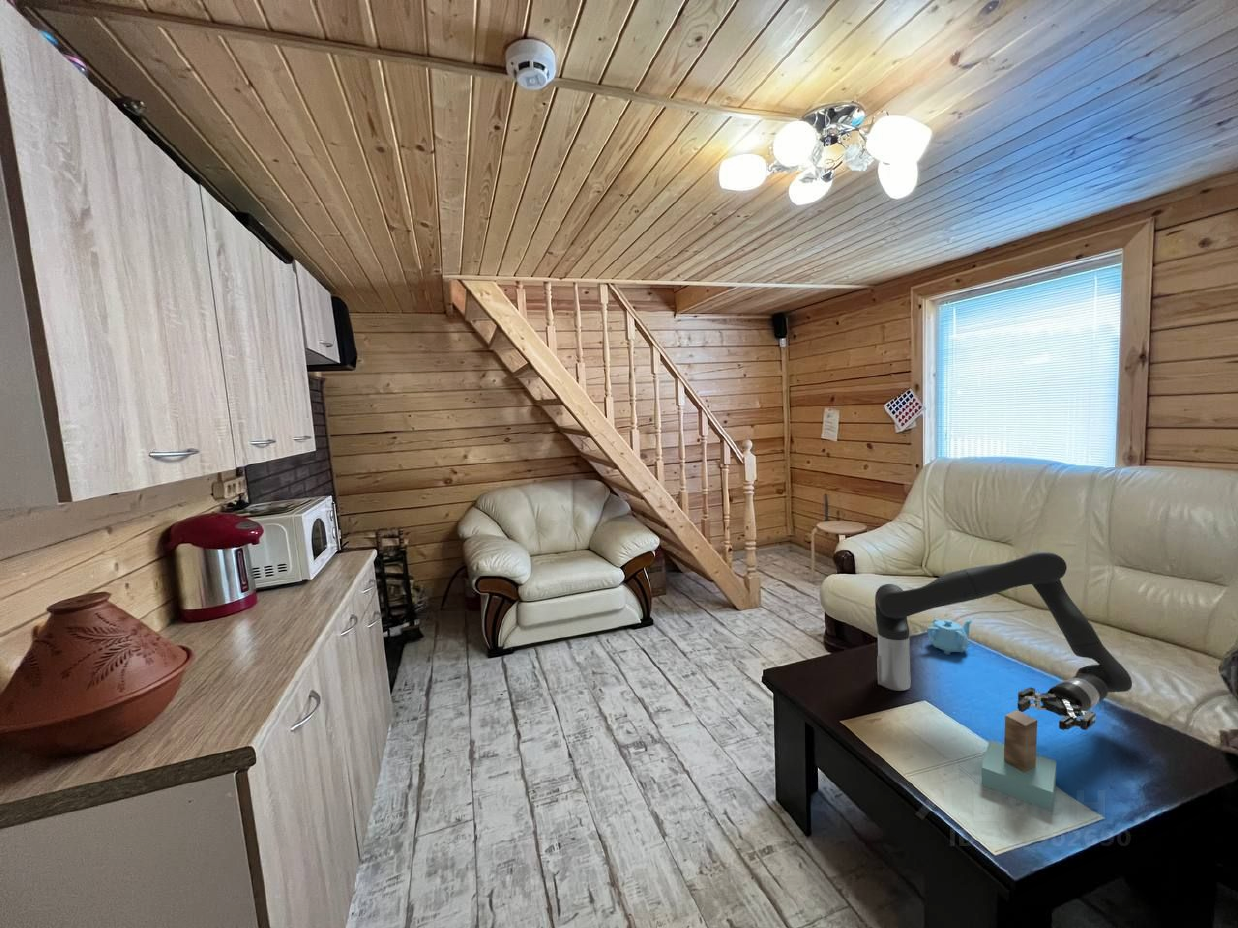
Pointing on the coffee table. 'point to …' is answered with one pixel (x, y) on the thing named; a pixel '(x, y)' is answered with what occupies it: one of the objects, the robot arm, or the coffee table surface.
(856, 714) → the coffee table surface
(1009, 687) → the coffee table surface
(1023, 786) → the teal block
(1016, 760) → the walnut pillar
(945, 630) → the teapot
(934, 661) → the coffee table surface
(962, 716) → the coffee table surface
